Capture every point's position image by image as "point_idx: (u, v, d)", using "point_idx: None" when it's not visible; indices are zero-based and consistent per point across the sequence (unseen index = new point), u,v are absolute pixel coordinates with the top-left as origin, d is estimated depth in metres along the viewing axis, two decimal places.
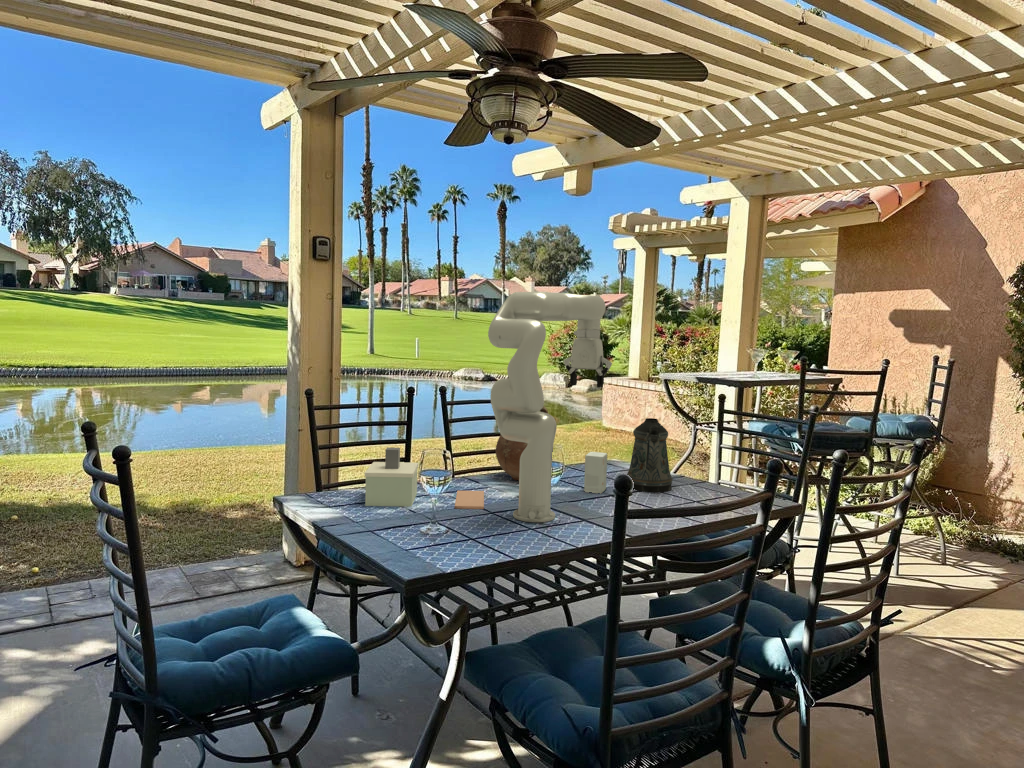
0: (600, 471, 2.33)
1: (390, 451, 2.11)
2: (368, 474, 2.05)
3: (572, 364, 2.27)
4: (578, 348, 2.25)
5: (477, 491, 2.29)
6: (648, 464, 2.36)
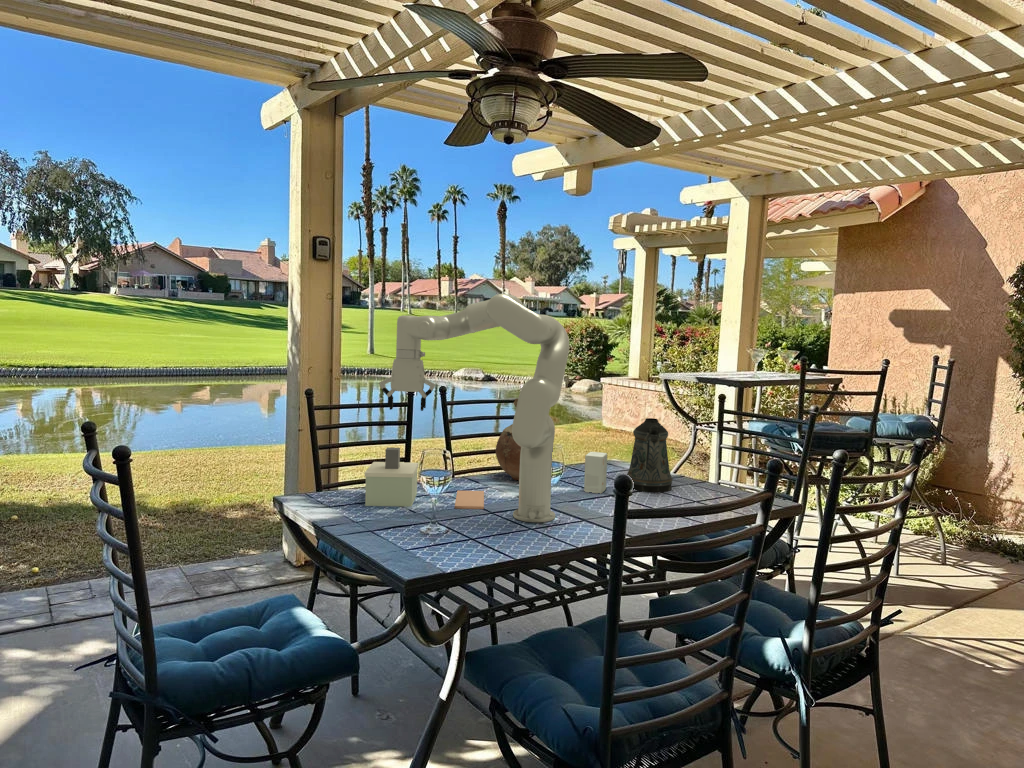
0: (600, 471, 2.33)
1: (390, 451, 2.11)
2: (368, 474, 2.05)
3: None
4: None
5: (477, 491, 2.29)
6: (648, 464, 2.36)
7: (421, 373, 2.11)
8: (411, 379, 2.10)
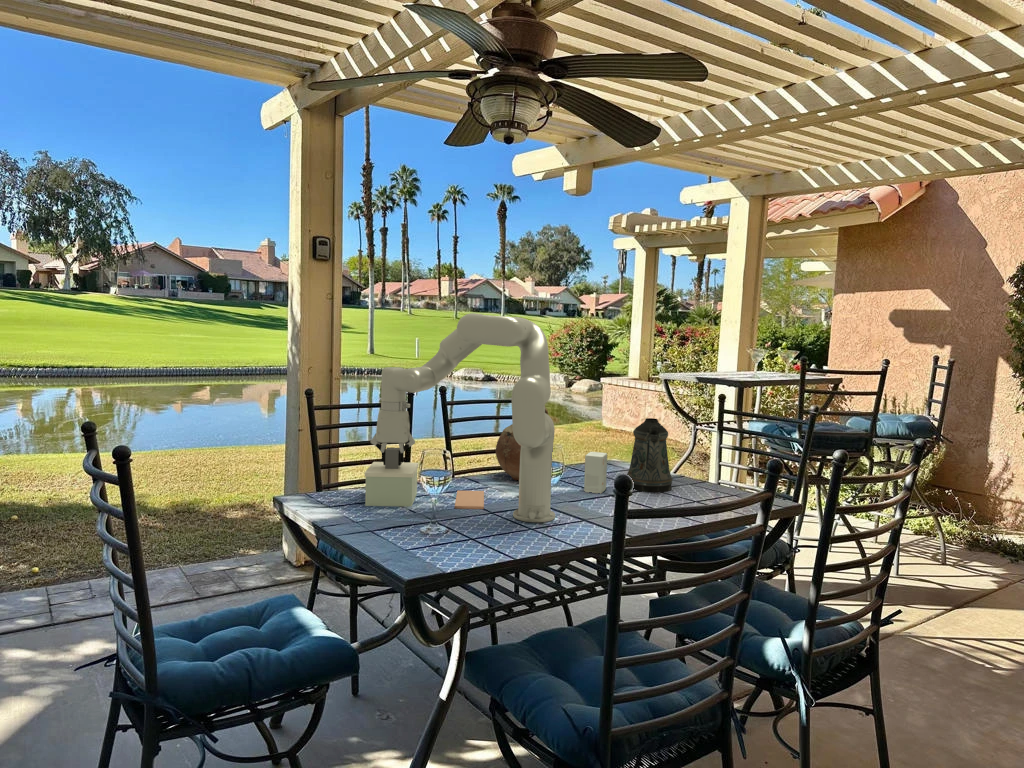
0: (600, 471, 2.33)
1: (390, 451, 2.11)
2: (368, 474, 2.05)
3: None
4: None
5: (477, 491, 2.29)
6: (648, 464, 2.36)
7: (406, 425, 2.11)
8: (397, 431, 2.11)
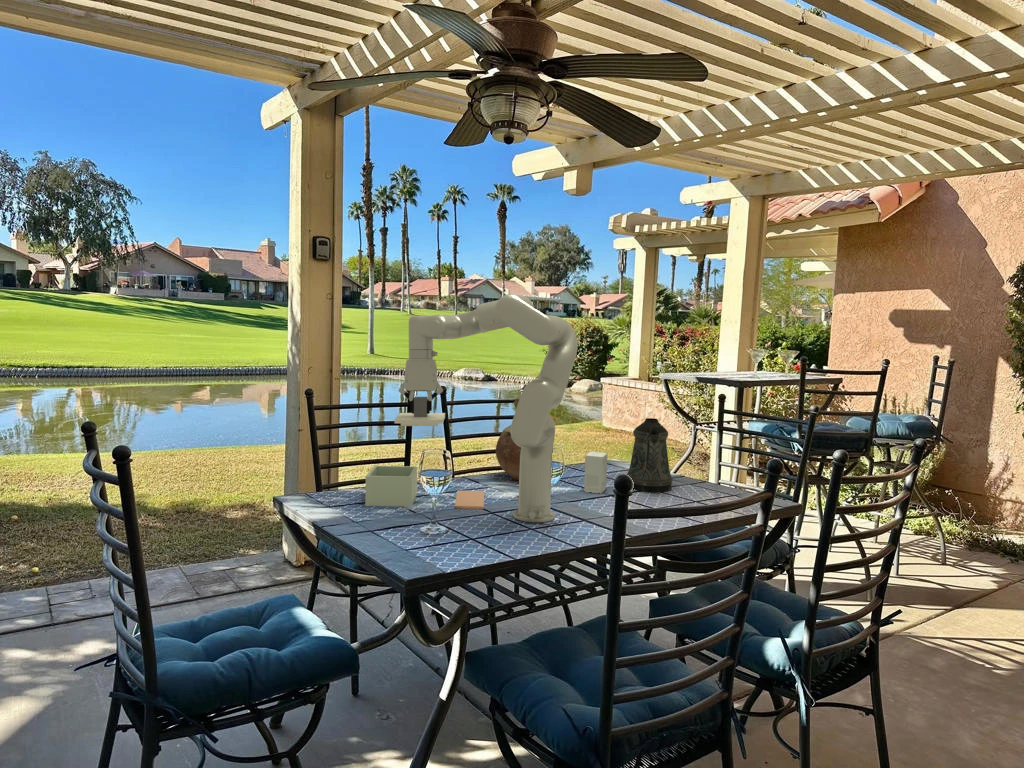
0: (600, 471, 2.33)
1: (418, 399, 2.12)
2: (398, 421, 2.06)
3: None
4: None
5: (477, 491, 2.29)
6: (648, 464, 2.36)
7: (434, 372, 2.12)
8: (425, 379, 2.11)
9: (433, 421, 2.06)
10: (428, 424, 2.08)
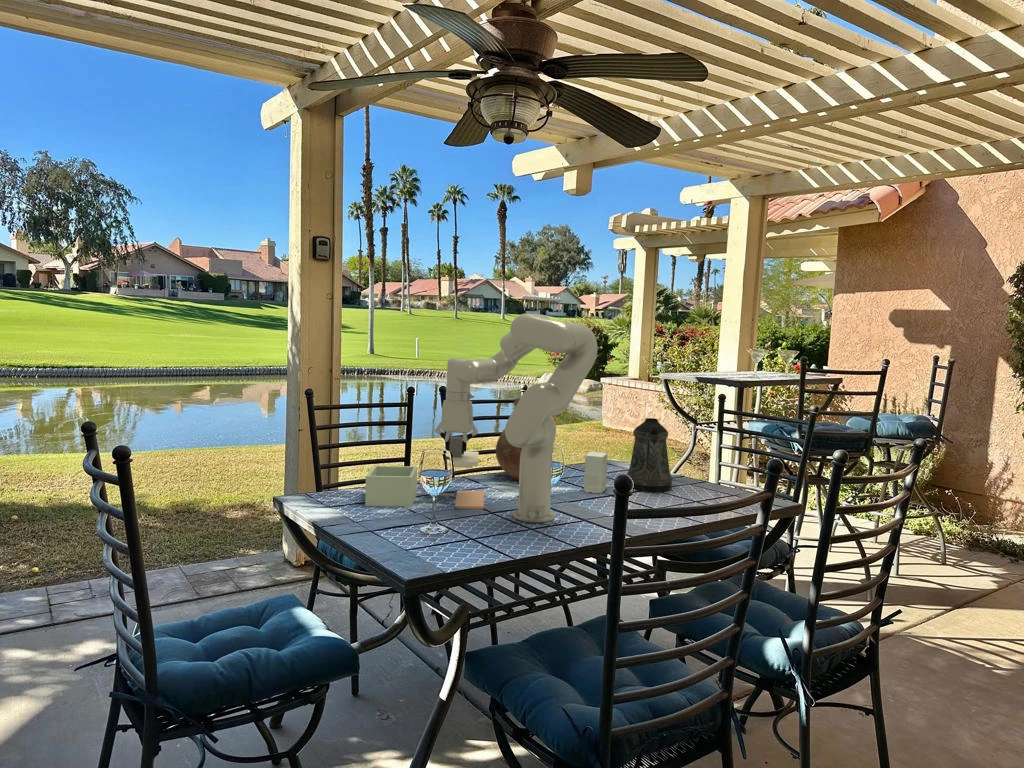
0: (600, 471, 2.33)
1: (454, 440, 2.16)
2: None
3: None
4: None
5: (477, 491, 2.29)
6: (648, 464, 2.36)
7: (470, 415, 2.16)
8: (461, 421, 2.15)
9: (468, 463, 2.11)
10: (463, 466, 2.13)
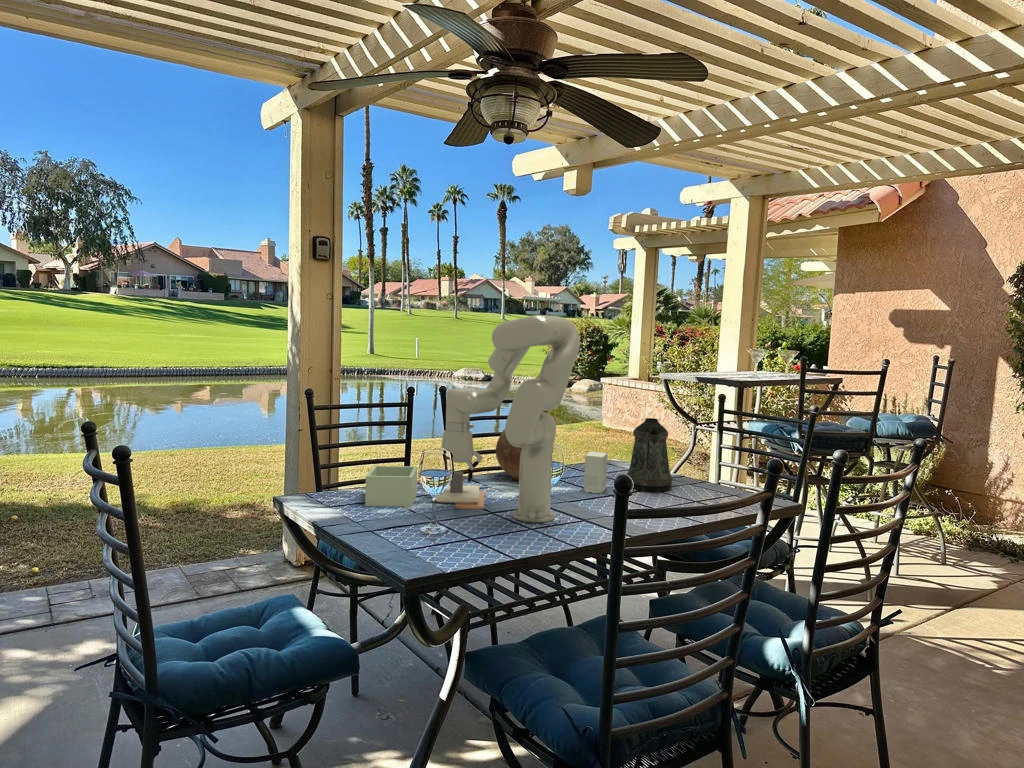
0: (600, 471, 2.33)
1: (455, 475, 2.17)
2: None
3: None
4: None
5: None
6: (648, 464, 2.36)
7: (470, 444, 2.16)
8: (461, 451, 2.16)
9: (469, 499, 2.11)
10: (464, 501, 2.13)
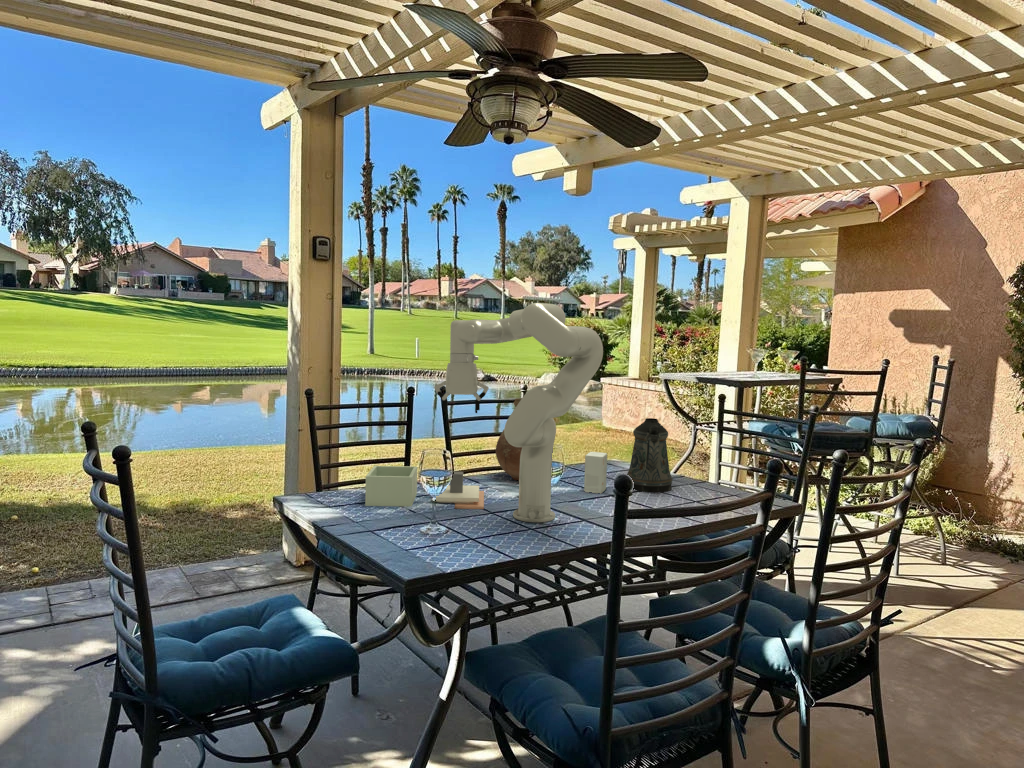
0: (600, 471, 2.33)
1: (455, 475, 2.17)
2: None
3: None
4: None
5: None
6: (648, 464, 2.36)
7: (475, 376, 2.15)
8: (466, 383, 2.15)
9: (469, 499, 2.11)
10: (464, 501, 2.13)
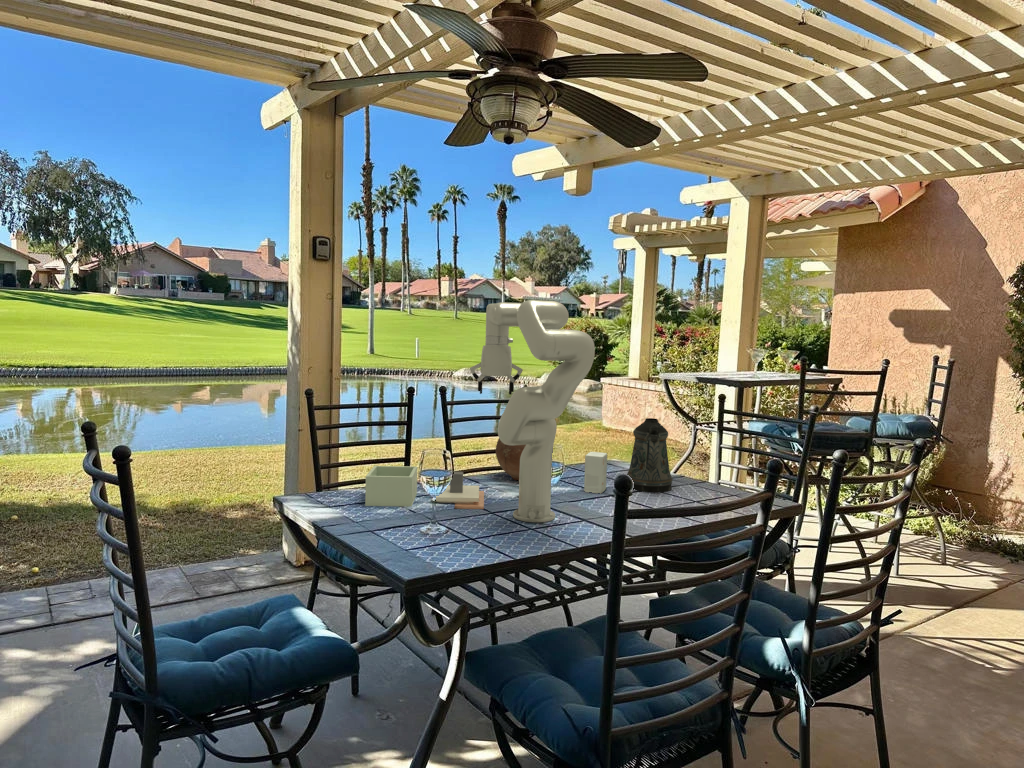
0: (600, 471, 2.33)
1: (455, 475, 2.17)
2: None
3: None
4: None
5: None
6: (648, 464, 2.36)
7: (510, 358, 2.21)
8: (501, 364, 2.20)
9: (469, 499, 2.11)
10: (464, 501, 2.13)
